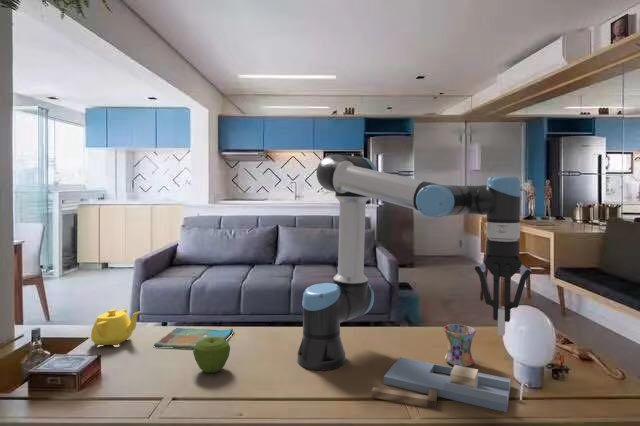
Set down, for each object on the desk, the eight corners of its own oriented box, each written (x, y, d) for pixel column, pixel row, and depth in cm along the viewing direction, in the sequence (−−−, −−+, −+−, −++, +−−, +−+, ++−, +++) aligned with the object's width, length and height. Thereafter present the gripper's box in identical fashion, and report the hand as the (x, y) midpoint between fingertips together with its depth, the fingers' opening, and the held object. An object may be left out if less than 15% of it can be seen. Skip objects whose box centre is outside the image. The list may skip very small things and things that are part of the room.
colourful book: (219, 352, 135) (219, 344, 135) (152, 349, 138) (152, 342, 137) (235, 334, 152) (235, 327, 152) (175, 332, 155) (175, 325, 154)
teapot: (99, 354, 132) (97, 319, 131) (85, 343, 142) (84, 310, 141) (142, 343, 142) (141, 310, 141) (126, 333, 152) (125, 302, 151)
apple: (186, 371, 120) (186, 338, 119) (217, 360, 127) (216, 329, 127) (206, 382, 112) (205, 347, 112) (237, 370, 120) (237, 337, 120)
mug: (477, 370, 120) (478, 335, 119) (445, 367, 122) (445, 333, 121) (470, 354, 132) (470, 322, 131) (440, 352, 133) (441, 320, 133)
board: (383, 383, 112) (383, 369, 111) (400, 363, 125) (400, 350, 125) (506, 412, 97) (507, 396, 97) (510, 386, 110) (511, 371, 110)
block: (450, 388, 104) (450, 373, 104) (454, 379, 110) (454, 364, 110) (474, 394, 102) (474, 378, 101) (477, 384, 107) (478, 369, 107)
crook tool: (371, 398, 104) (371, 390, 104) (376, 387, 110) (376, 380, 110) (435, 409, 99) (435, 401, 99) (437, 397, 104) (437, 389, 104)
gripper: (472, 239, 99) (471, 334, 101) (532, 242, 93) (530, 342, 94) (476, 236, 106) (475, 325, 107) (532, 239, 100) (531, 333, 101)
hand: (501, 333), depth 101 cm, fingers closed
